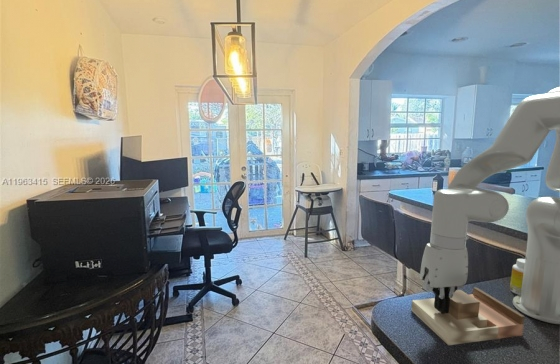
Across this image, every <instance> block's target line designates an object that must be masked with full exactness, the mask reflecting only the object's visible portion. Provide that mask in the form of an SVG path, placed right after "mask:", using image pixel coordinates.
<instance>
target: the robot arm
mask: <svg viewBox="0 0 560 364" xmlns="http://www.w3.org/2000/svg"><path fill="white" fill-rule="evenodd" d="M551 131H555V135H556V137H555V143H554V146H553V151H552V154H551V156H550V160H549V161H548V165H547V168H546V173H545V177H544V178H545V179H544V183H545V185H546V187H547V188H548V189H549V190H552V191H555V192H557V193H560V86H558V87H555V88H553V89H551V90H549V91H547V92H546V93H539V94H534V95H530V96H528V97H525V98H524V99H522V100H521V101H520V102H519V103H518V104H517V105H516V107H515V109H514V110H513V111H512V113H511V115H510V116H509V118H508V119H507V121H506V123H505V124H504V126H503V127H502V129H501V131H500V132H499V133H498V135H497V137H496V138H495V140H494V141H493V143H492V144H491V145H490V147H488V148H486V149H485V150H484V151H482V152H481V153H479V154H477V155H476V156H475V157H474V158H472V159H471V160H469V161H467V162H466V163H465V164H463V166H462V167H461V168H460V169H459V170H458V171H457V172H456V173H455V175H454V176H453V179H452V180H451V181H450V183H449V185H448V186H447V188H445V189H444V188H441V189H438V190H436V191H435V192H434V195H433V203H432V204H433V205H432V213H431V214H432V215H431V225H430V226H431V228H430V229H431V230H430V238H429V242H428V243H426V245H425V248H424V251H423V255H422V259H421V266H420V270H419V271H420V272H419V278H420V280H422V281H423V282H422V283H423V284H422V289H423V290H425V291H427V292H432V293H433V294H434V298H435V301H434V307H435V308H436V309H437V310H438V311H439V312H440V313H442V314H445V313H449V304H450V298H452V297H453V294H454V292H455V291H456V290H461V289H462V288H463V289H464V287H465V284H466V283H467V280H468V276H469V275H468V274H469V255H468V254H469V253H468V248H467V246H466V244H467V241H468V240H469V238H470V237H469V235H468V225H469V222H480V223H494V222H498V221H500V220H502V219H504V218H505V217H506V216H507V214H508V212H509V210H510V209H509V208H510V207H509V202H508V200H507V198H506V197H505V196H504V195H502V194H501V193H499V192H497V191H494V190H489V189H485V188H479V187H478V186H479V185H480V184H481V183H482V182H484V181H485V180H486V179H488V178H489V177H491V176H493V175H495V174H498V173H501V172H505V171H508V170H512V169H515V168H519V167H521V166H524V165H526V164H528V163H530V162H531V161H532V160H533V158H534V157H535V155H536V153H537V152H538V150H539V148H540V147H541V146H542V144H543V142H544V141H545V139H546V138H547V136H548V135H549V133H550V132H551ZM525 219H526V226H527V241H526V242H527V243H526V251H525V257H524V259H525V266H524V273H523V281H522V289H521V295H515V296H514V297H513V298H512V304H513V306H514V307H515V308H516V310H518V312H521V314H523V315H526V316H528V317H531V318H533V319H535V320H538V321H542V322H545V323H548V324H554V325H560V197H557V196H542V197H537V198H535V199H533V200H531V202H529V204H528V206H526V211H525Z"/></svg>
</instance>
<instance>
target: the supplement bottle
mask: <svg viewBox="0 0 560 364" xmlns="http://www.w3.org/2000/svg"><path fill="white" fill-rule="evenodd" d="M524 266H525V258H517V259H516V263H515V264H513V265H512V268H511V277H510V285H509V290H510V291H511V292H512V293H513V294H516V295H517V296H519V295H521V289H522V281H523V273H524Z"/></svg>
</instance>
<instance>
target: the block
mask: <svg viewBox="0 0 560 364" xmlns="http://www.w3.org/2000/svg"><path fill="white" fill-rule="evenodd" d="M479 306H480V302H479V301H478V300H476V299H474V298H473V297H471V296H470V295H469V293H466V292H465V291H464V290H462V289H457V290H456V291H455V292H454V294H453V297H452V298H450V304H449V314H451V315H452V316H453V317H454V318H456V319H457V320H459V319H466V318H474V317H478V315H479Z"/></svg>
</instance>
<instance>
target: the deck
mask: <svg viewBox="0 0 560 364" xmlns="http://www.w3.org/2000/svg"><path fill="white" fill-rule="evenodd" d="M472 289H473V290H472V293H470V294H469V293H468V295H470V296H471V297H473V298H474V299H476V300H478V301H479V302H480V306H479V315H478V317H474V318H466V319H459V320H457V319H456V318H454V317H453V316H452V315H451V314H449V313H445V314H442V313H440V312H439V311H438V310H437V309H436V308H435V307H434V301H435V297H433V298H431V297H430V298H423V299H422V298H421V299H413V300H411V311H412V313H414V315H416V316H417V317H418V318H419V319H420V320H421V322H423V323H424V324H425V325H426V326H427V327H428V328H429V329H430V330H431V331H433V332H434V333H435V334H436V335H437V337H439V338H440V339H441V340H442V341H443V342H444V343H446V344H447V346H454V345H462V344H468V343H469V344H470V343H477V342H483V341H491V340H492V341H493V340H499V339H506V338H513V337H520V336H523V334H524V333H523V331H524V325H525V314H523V313H520V311H517V310H515V309H514V308H512V307H510V306H509V305H507V304H505V303H503V302H502V301H500V300H499V299H497V298H495V297H494V296H492V295H490V294H489V293H487V292H485V291H484V290H482V289H480V288H478V287H477V286H474V287H473V288H472Z"/></svg>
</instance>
